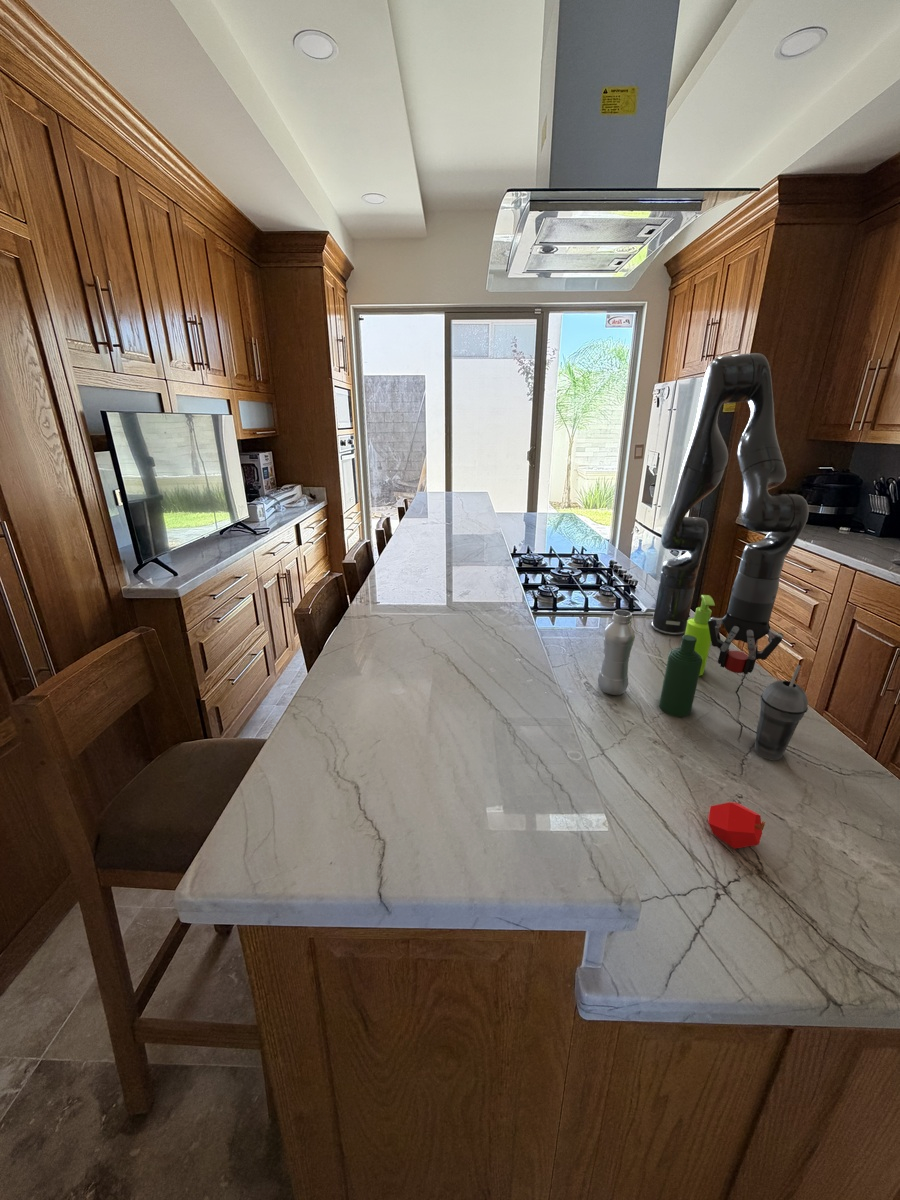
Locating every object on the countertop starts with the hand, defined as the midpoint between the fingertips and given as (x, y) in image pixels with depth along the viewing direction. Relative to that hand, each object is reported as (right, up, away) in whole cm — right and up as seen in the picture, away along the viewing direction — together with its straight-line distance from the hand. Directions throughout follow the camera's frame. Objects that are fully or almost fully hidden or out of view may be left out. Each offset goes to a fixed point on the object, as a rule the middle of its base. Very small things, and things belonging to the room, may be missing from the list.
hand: (734, 668), depth 103 cm
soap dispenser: (0, -3, +18) cm, 18 cm away
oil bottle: (-11, -9, +3) cm, 15 cm away
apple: (-17, -23, -27) cm, 39 cm away
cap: (0, 0, 0) cm, 0 cm away
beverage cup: (+1, -15, -10) cm, 18 cm away
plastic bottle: (-23, -7, +10) cm, 26 cm away
